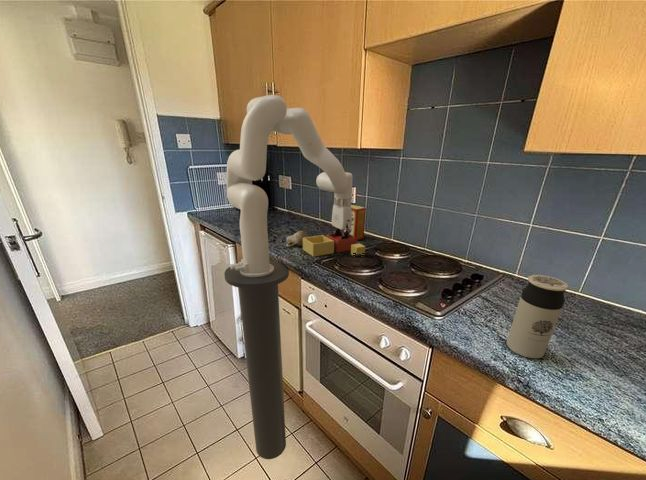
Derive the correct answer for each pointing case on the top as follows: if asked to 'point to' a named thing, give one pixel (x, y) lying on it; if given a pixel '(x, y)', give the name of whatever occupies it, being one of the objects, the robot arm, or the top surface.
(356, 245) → the yellow block
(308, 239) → the yellow bin
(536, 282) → the travel mug
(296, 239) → the beige animal figurine
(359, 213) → the baking soda box
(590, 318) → the top surface
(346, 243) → the red bin
